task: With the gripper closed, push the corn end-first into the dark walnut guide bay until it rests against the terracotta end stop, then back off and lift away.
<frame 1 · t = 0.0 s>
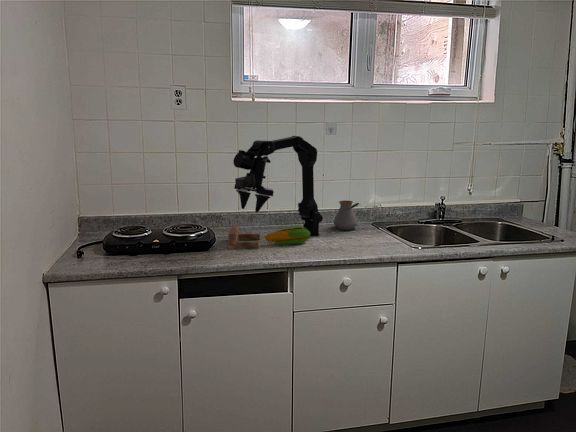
hand: (249, 210, 194), 15 cm above the worktop, fingers open, 9 cm apart
corn: (287, 244, 203), on the worktop
coffee pot: (349, 231, 226), on the worktop
guide bay: (248, 243, 203), on the worktop
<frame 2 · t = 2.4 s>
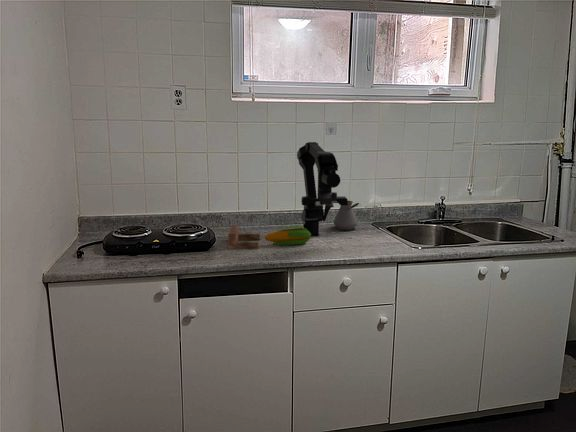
hand: (323, 221, 202), 10 cm above the worktop, fingers closed
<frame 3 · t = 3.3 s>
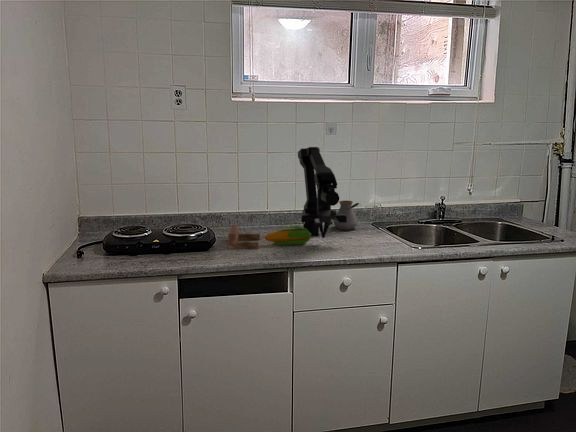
hand: (323, 237, 203), 3 cm above the worktop, fingers closed
nothing on the worktop moved.
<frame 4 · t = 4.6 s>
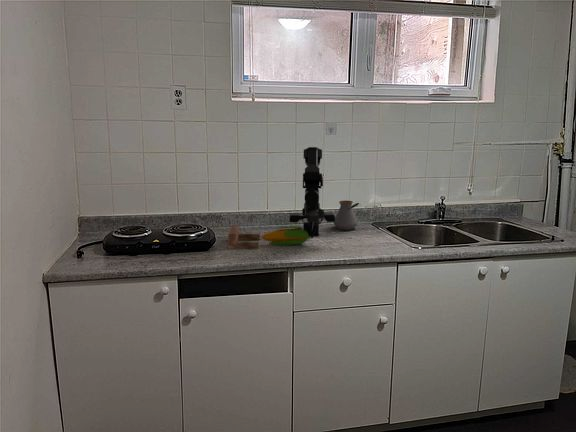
hand: (311, 237, 203), 3 cm above the worktop, fingers closed
corn: (285, 244, 202), on the worktop, touching gripper
everything else where it was.
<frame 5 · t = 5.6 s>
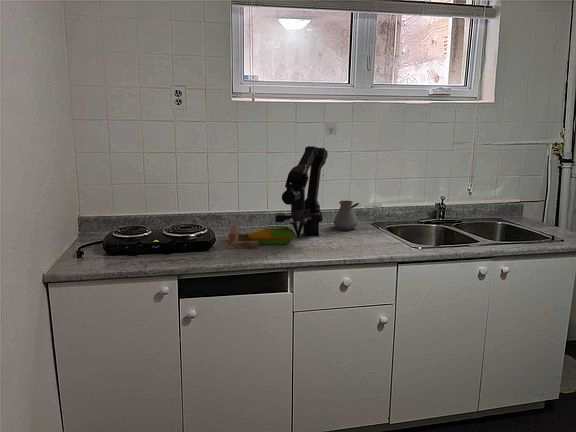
hand: (298, 237, 203), 3 cm above the worktop, fingers closed
corn: (271, 244, 203), on the worktop, touching gripper
everything else where it was.
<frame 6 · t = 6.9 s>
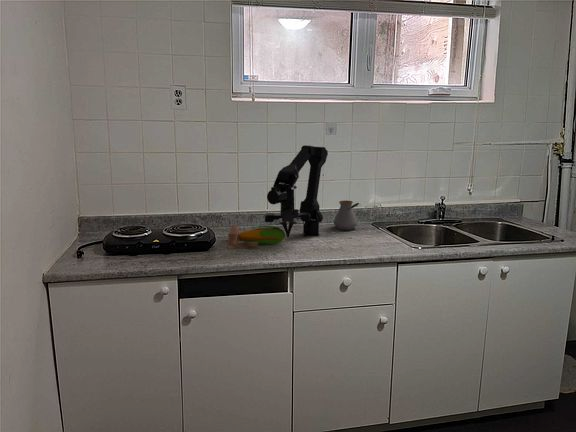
hand: (287, 237, 203), 3 cm above the worktop, fingers closed
corn: (261, 244, 204), on the worktop, touching gripper, guide bay
everything else where it was.
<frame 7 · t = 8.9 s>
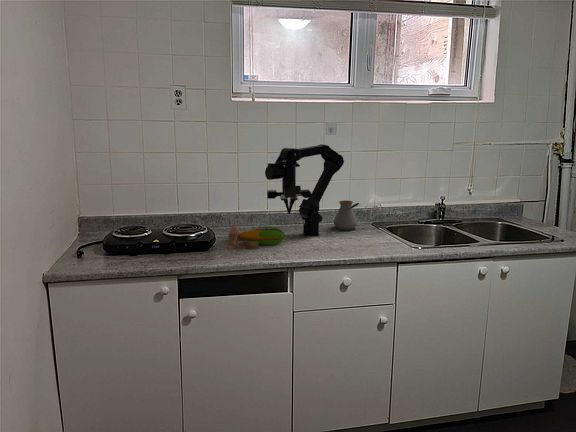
hand: (289, 213, 210), 11 cm above the worktop, fingers closed
corn: (261, 244, 203), on the worktop
everything else where it was.
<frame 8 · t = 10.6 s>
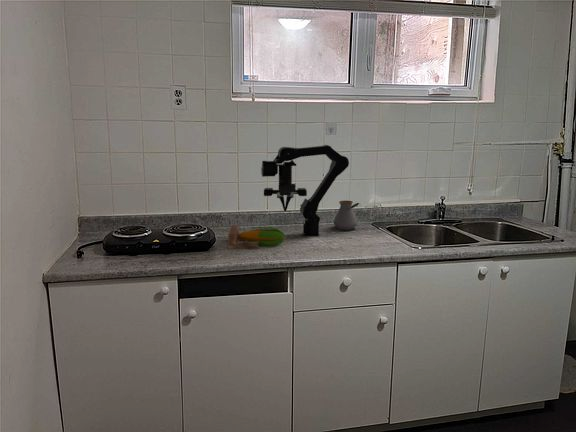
hand: (285, 211, 215), 11 cm above the worktop, fingers closed
at the end: corn inside the target area (0.8 cm from its centre), on the worktop; corn moved 11.2 cm from its start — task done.
